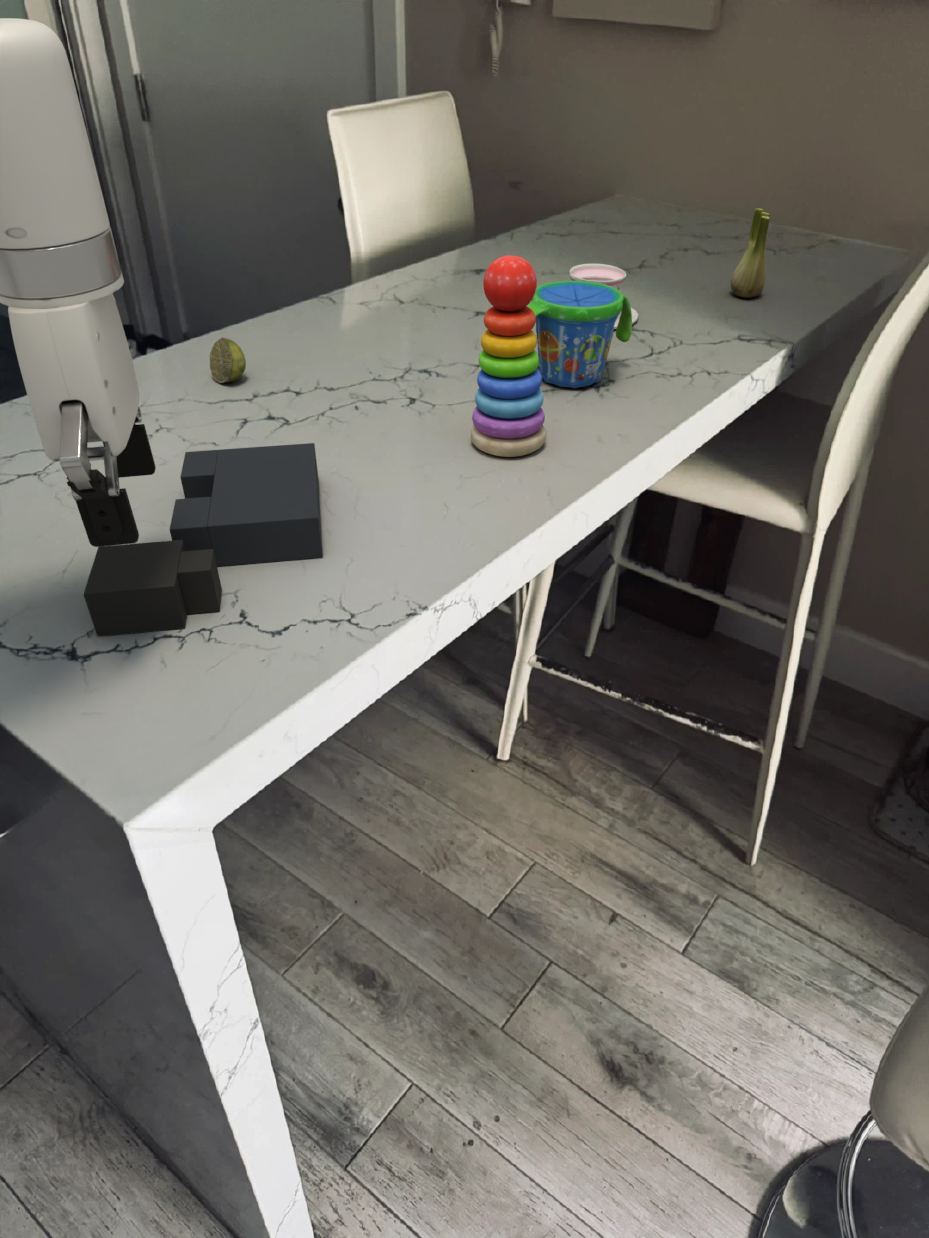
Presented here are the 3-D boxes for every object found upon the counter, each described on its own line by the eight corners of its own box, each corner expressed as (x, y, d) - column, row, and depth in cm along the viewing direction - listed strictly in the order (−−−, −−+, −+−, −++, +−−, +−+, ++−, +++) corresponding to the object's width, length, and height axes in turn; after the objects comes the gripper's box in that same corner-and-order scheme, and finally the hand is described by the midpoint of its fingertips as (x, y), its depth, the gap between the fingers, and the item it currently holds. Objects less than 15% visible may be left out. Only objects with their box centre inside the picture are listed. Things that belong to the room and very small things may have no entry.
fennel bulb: (755, 303, 128) (773, 216, 121) (723, 298, 130) (738, 212, 123) (766, 293, 132) (784, 208, 125) (734, 288, 134) (750, 204, 127)
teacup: (541, 307, 127) (544, 263, 123) (618, 301, 129) (623, 257, 126) (569, 335, 118) (572, 288, 114) (651, 328, 120) (657, 282, 116)
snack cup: (604, 354, 112) (612, 272, 106) (649, 384, 105) (661, 297, 98) (494, 372, 107) (496, 288, 101) (533, 405, 100) (537, 316, 94)
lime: (240, 389, 103) (234, 347, 100) (202, 385, 104) (195, 344, 101) (255, 374, 107) (249, 334, 104) (218, 371, 108) (211, 331, 105)
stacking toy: (554, 432, 94) (566, 250, 83) (534, 465, 88) (544, 273, 77) (484, 422, 96) (486, 243, 85) (460, 453, 90) (459, 265, 79)
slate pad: (178, 570, 73) (169, 529, 71) (193, 489, 84) (185, 451, 82) (322, 557, 75) (318, 517, 72) (318, 480, 86) (314, 442, 83)
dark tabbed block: (97, 636, 66) (83, 594, 64) (110, 587, 71) (98, 546, 69) (218, 625, 67) (209, 582, 65) (223, 577, 72) (214, 536, 70)
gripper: (23, 231, 60) (93, 456, 70) (-54, 317, 46) (47, 580, 57) (136, 224, 60) (188, 448, 71) (93, 307, 47) (165, 568, 58)
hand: (126, 506), depth 64 cm, fingers open, 9 cm apart
